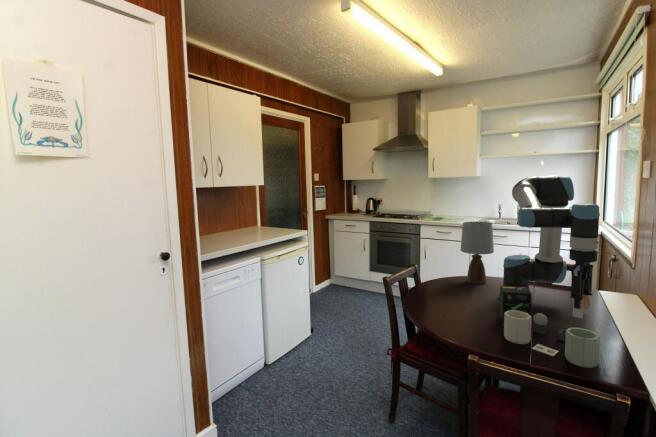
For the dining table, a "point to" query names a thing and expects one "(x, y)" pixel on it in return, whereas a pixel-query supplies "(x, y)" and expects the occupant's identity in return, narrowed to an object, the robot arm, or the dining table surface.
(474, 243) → the lamp
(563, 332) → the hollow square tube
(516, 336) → the beaker cream
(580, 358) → the beaker sage
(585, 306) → the terracotta ball
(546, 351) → the card
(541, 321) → the grey ball
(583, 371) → the dining table surface
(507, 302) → the tampon box
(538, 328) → the cradle grey
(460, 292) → the dining table surface
